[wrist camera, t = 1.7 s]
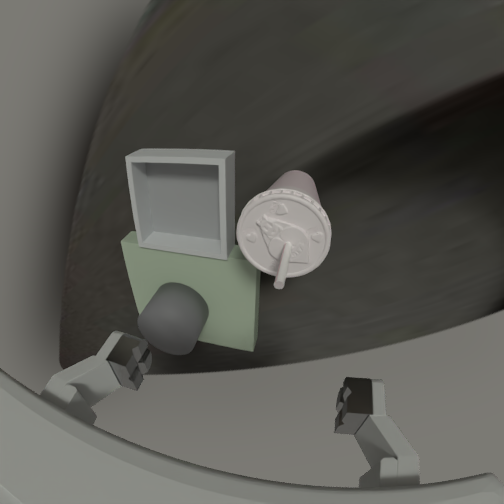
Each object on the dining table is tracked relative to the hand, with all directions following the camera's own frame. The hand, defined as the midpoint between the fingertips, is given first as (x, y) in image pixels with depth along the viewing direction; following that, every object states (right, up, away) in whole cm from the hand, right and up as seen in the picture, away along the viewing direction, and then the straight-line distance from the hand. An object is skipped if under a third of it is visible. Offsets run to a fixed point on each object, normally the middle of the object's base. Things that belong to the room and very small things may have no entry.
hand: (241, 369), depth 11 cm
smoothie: (+5, +11, +17) cm, 20 cm away
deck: (-6, +4, +23) cm, 25 cm away
